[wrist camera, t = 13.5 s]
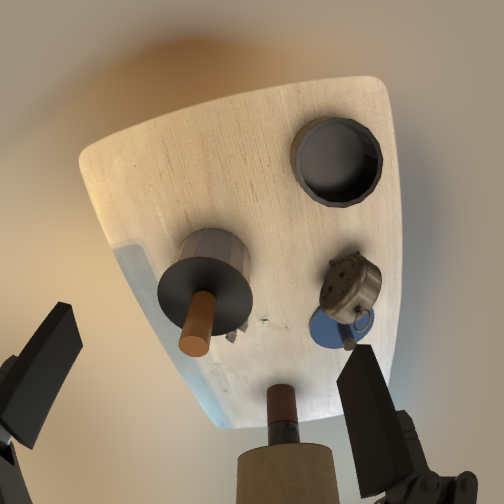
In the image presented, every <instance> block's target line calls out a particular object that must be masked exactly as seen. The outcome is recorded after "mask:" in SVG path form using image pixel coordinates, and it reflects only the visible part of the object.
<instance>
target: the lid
mask: <svg viewBox="0 0 504 504" xmlns="http://www.w3.org/2000/svg"><path fill="white" fill-rule="evenodd" d="M157 295H158V301H159V304H160V306H161V309H162V310H163V312H164V314H165V315H166V316H167V317H168V319H169V320H170V321H171V322H173V323H174V324H175V325H176V326H178V327H180V328H181V329H182V332H181V336H180V339H179V348H180V350H181V351H182V352H183V353H185V354H186V355H189V356H192V357H201V356H204V355H206V354H207V353H208V351H209V345H210V339H211V336H219V335H224V334H227V333H230V332H232V331H234V330H236V329H237V328H239V327H240V326H241V325H243V324H244V322H245V321H246V320H247V319H248V317H249V315H250V313H251V310H252V305H253V296H252V291H251V288H250V285H249V283H248V282H247V280H246V279H245V277H244V276H243V275H242V274H241V273H240V272H239V271H238V270H237V269H236V268H234V267H233V266H231V265H230V264H228V263H226V262H224V261H221V260H219V259H215V258H211V257H203V256H198V257H189V258H185V259H182V260H180V261H177V262H176V263H174V264H172V265H171V266H170V267H169V268H168V269H167V270H166V271H165V272H164V274H163V275H162V277H161V279H160V281H159V284H158V291H157Z"/></svg>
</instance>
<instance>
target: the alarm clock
mask: <svg viewBox="0 0 504 504" xmlns="http://www.w3.org/2000/svg"><path fill="white" fill-rule="evenodd" d="M359 254H360V252H359V251H358V252H357V254H352V255H349V256H347V257H345V258H343V259H342V260H340V261H339V262H338V263H337V264H336V265H335V264H334V262H333V261H331V260H330V261H329V263H330V265H331V267H332V270H331V271H330V272H329V274H328V275H327V277H326V279H325V281H324V283H323V285H322V288H321V292H320V298H319V302H320V307H321V310H322V311H323V313H325V314H326V315H328V316H329V317H331V318H333V319H335V320H336V321H338V322H340V323H341V324H351V323H354V324H353V325H354V329H355V331H356V332H362V331H364V330H365V329H366V328H367V327H368V325H369V323H370V321H371V313H370V311H369V310H370V309H371V308H372V306H373V305H374V303H375V302H376V300H377V298H378V295H379V293H380V289H381V284H382V275H381V272H380V270H379V268H378V267H377V266H376V265H374V264H373V263H371V262H370V261H369V260H367V259H366V258H365V257H363V256H362V255H359ZM367 313H368V314H369V320H368V323H367V324H366V326H365V327H364V328H363V329H361V330H358V329H356V326H355V323H356V321H358V320H360V319H361V318H362V317H363V316H365V315H366V314H367Z"/></svg>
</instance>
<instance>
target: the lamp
mask: <svg viewBox="0 0 504 504" xmlns="http://www.w3.org/2000/svg"><path fill="white" fill-rule="evenodd" d="M267 421H268V446H264V447H259V448H255V449H252V450H249V451H247V452H245V453H243V454H242V455H240V456H239V458H238V469H237V496H236V504H340V502H339V494H338V487H337V481H336V474H335V468H334V461H333V455H332V451H331V449H330V448H328V447H326V446H324V445H320V444H314V443H300V437H299V427H298V417H297V408H296V400H295V391H294V388H293V387H291V386H290V385H286V384H279V385H274V386H272V387H270V388H269V389H268V390H267Z"/></svg>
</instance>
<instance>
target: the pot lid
mask: <svg viewBox="0 0 504 504" xmlns="http://www.w3.org/2000/svg"><path fill="white" fill-rule="evenodd" d="M369 311H370V313H371V321H370V323H369V325H368V327H367V328H366V329H365V330H364V331H362V332H356V331H355V329H354V325H353V324H354V323H351V324H341V323H340V322H338V321H336V320H335V319H333V318H331V317H329V316H328V315H326V314H325V313H323V311H322V310H321V308H320V309H319V310H318V311H317V312H316V313H315V314H314V316H313V318H312V320H311V323H310V334H311V337H312V339H313V340H314V341H315V342H316V343H317V344H318V345H320V346H322V347H325V348H331V349H337V348H344V349H345V350H346V351H350V350H353V349H354V348H355V346H356V344H357V343H356V342H358V341H360V340H361V339H362V338H363V337H365V336H366V334H367V333H368V332H369V331H370V329H371V327H372V325H373V322H374V311H373V309H372V308H371V309H370V310H369ZM368 320H369V314H368V313H367V314H366V315H365V316H363V317H362V318H361V319H360V320H358V321H356V323H355V326H356V329H358V330H361V329H363V328H364V327H365V326H366V324H367V323H368Z"/></svg>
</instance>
